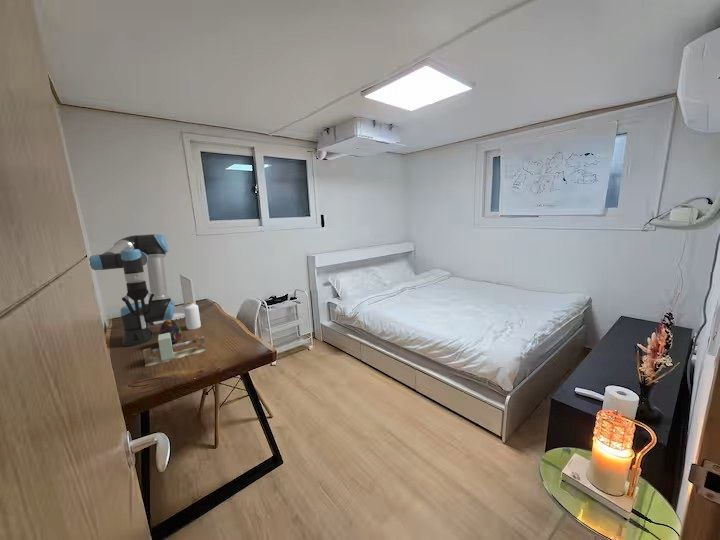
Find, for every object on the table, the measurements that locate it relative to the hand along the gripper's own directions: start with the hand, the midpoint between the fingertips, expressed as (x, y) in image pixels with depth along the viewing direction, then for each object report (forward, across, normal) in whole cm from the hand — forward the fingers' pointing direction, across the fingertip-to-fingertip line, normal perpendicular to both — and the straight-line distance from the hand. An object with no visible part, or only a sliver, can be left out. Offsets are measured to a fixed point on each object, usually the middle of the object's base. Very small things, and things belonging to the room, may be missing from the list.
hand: (144, 327), depth 143 cm
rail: (+19, +12, +1) cm, 22 cm away
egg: (+19, +10, +21) cm, 29 cm away
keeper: (+19, +8, +1) cm, 20 cm away
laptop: (+18, +10, +87) cm, 90 cm away
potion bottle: (+18, +22, +42) cm, 51 cm away
